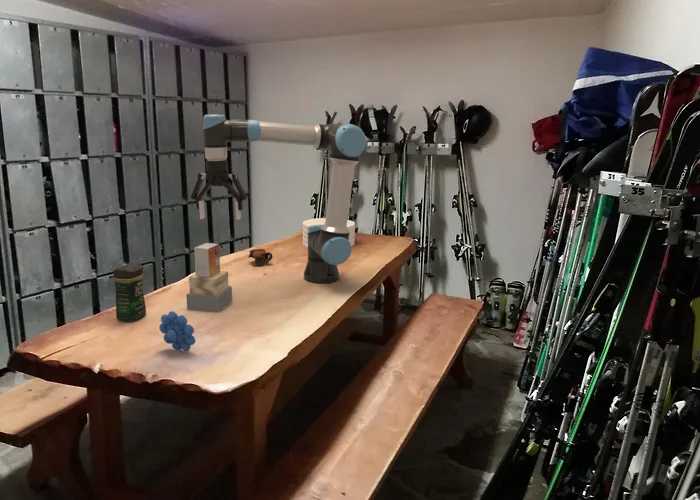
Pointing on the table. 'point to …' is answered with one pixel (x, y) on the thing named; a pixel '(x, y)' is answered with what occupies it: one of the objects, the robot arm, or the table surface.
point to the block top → (209, 284)
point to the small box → (207, 260)
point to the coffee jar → (129, 292)
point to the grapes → (177, 331)
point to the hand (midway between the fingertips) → (220, 218)
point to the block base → (209, 301)
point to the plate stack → (321, 222)
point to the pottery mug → (260, 257)
